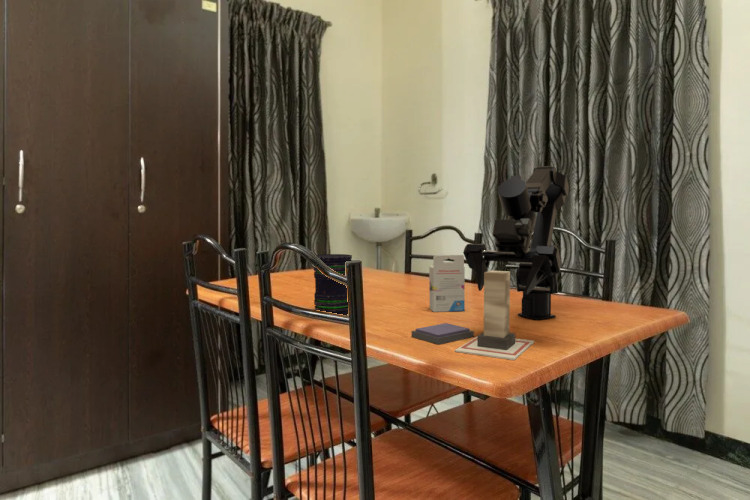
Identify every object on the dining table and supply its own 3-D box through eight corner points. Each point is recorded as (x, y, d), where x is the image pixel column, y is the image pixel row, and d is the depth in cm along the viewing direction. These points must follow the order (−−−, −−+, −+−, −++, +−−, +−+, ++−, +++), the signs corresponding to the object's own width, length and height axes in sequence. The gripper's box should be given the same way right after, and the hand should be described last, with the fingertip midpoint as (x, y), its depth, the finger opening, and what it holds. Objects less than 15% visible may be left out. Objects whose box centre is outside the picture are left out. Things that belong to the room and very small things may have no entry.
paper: (480, 335, 105) (480, 333, 105) (534, 342, 99) (534, 340, 99) (454, 351, 93) (454, 349, 93) (514, 360, 87) (514, 357, 87)
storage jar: (338, 319, 123) (337, 258, 122) (306, 315, 128) (305, 256, 127) (360, 312, 131) (359, 254, 130) (329, 308, 136) (329, 253, 135)
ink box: (459, 307, 136) (460, 253, 135) (464, 311, 131) (465, 254, 130) (428, 308, 135) (428, 253, 134) (432, 312, 130) (432, 255, 129)
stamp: (486, 339, 100) (487, 269, 99) (515, 343, 97) (516, 271, 96) (477, 346, 95) (477, 272, 94) (506, 350, 93) (507, 274, 92)
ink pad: (446, 329, 110) (446, 322, 110) (473, 336, 104) (473, 328, 104) (411, 336, 104) (411, 328, 104) (438, 344, 98) (438, 335, 98)
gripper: (466, 205, 106) (445, 263, 98) (559, 204, 97) (545, 267, 88) (479, 240, 114) (461, 296, 105) (566, 242, 104) (554, 304, 96)
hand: (502, 291), depth 98 cm, fingers open, 9 cm apart
